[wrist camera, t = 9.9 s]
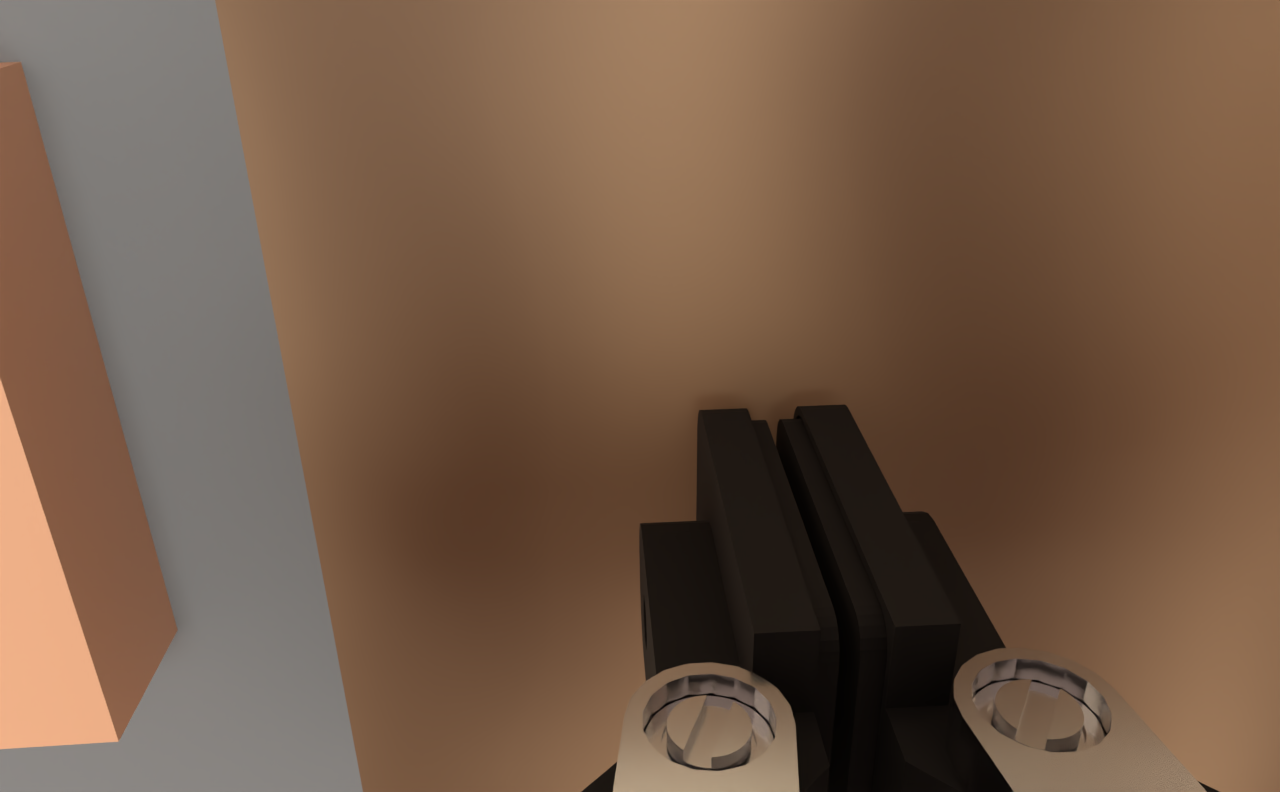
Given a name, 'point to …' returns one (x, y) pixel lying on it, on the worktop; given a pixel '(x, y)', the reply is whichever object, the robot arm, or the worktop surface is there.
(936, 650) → the robot arm
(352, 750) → the mat
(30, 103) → the peach flat block
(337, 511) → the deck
